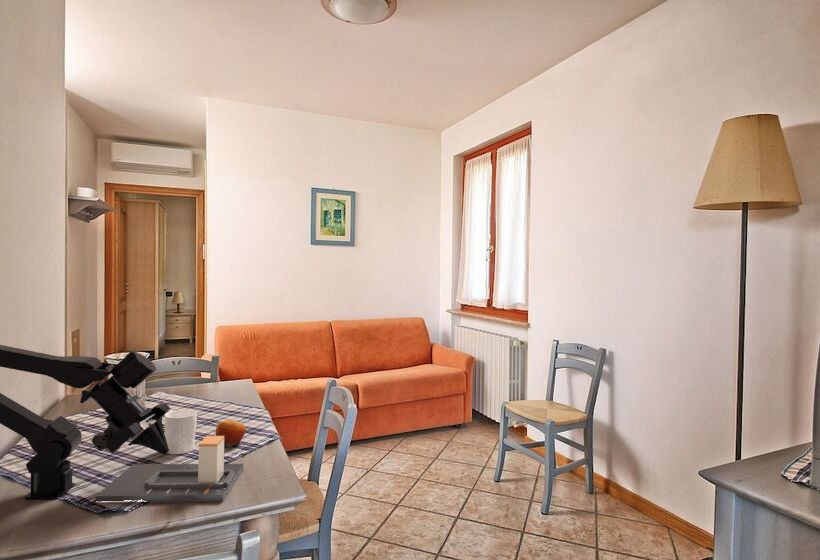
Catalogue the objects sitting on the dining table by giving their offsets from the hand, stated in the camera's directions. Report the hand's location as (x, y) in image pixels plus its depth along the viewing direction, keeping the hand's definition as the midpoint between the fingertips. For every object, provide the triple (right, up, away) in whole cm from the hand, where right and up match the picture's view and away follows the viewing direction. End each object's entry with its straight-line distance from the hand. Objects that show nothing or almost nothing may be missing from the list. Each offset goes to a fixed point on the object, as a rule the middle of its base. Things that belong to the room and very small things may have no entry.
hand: (166, 453), depth 107 cm
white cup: (-7, -7, +22) cm, 24 cm away
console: (+1, -8, +1) cm, 8 cm away
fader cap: (+10, -6, +1) cm, 11 cm away
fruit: (+4, -7, +27) cm, 28 cm away
